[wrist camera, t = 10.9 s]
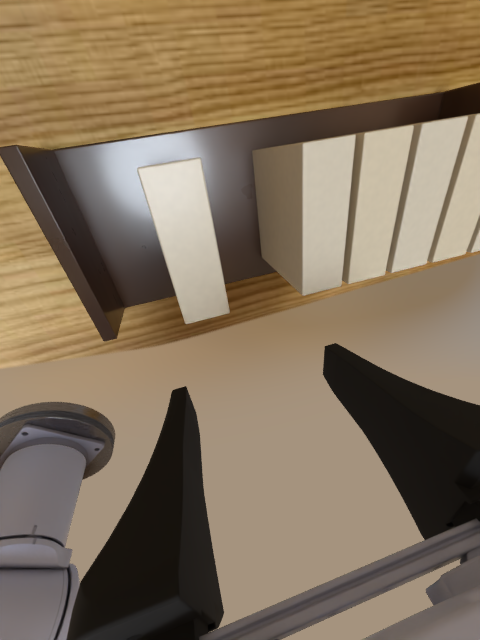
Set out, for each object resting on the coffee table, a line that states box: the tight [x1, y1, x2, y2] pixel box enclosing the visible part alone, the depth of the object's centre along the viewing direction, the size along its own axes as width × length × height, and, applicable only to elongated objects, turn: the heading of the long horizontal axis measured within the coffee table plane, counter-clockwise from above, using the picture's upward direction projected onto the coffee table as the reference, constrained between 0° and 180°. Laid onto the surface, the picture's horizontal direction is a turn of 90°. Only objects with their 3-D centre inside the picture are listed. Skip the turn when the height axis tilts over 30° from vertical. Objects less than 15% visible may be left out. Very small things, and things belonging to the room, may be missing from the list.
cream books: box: [252, 113, 480, 296], centre depth 16 cm, size 14×7×7 cm, turn 98°
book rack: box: [0, 83, 480, 341], centre depth 17 cm, size 26×10×5 cm, turn 98°
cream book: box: [137, 158, 230, 324], centre depth 14 cm, size 2×7×7 cm, turn 8°
